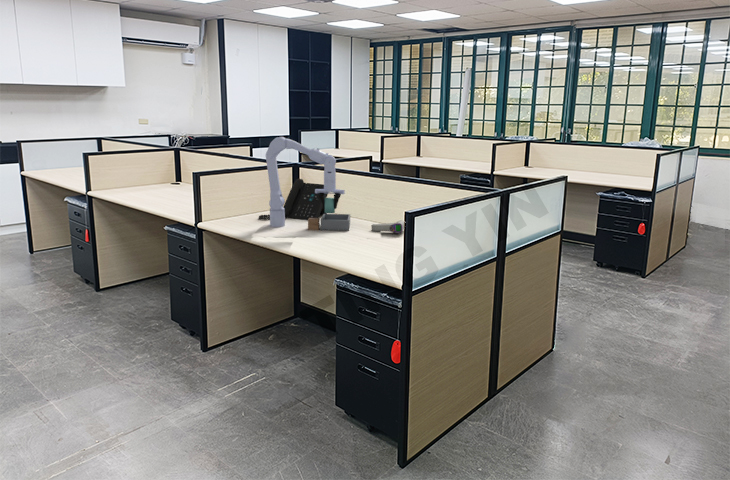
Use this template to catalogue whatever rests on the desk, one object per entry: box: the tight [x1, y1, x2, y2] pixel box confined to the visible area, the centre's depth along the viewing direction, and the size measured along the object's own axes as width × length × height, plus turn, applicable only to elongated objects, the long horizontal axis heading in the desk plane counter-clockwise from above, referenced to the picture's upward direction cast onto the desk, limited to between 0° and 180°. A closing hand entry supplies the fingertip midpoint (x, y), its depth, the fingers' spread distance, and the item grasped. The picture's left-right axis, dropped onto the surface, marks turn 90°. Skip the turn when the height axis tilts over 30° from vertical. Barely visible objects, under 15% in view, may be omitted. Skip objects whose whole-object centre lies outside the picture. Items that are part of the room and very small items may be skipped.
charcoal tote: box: [320, 213, 351, 232], centre depth 269 cm, size 18×14×5 cm
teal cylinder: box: [325, 197, 336, 214], centre depth 269 cm, size 5×5×7 cm
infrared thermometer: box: [371, 220, 405, 234], centre depth 264 cm, size 5×12×15 cm
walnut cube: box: [307, 217, 320, 231], centre depth 263 cm, size 5×5×5 cm
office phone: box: [258, 178, 329, 221], centre depth 292 cm, size 29×28×20 cm
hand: (329, 208), depth 269 cm, fingers closed on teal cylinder, 5 cm apart
